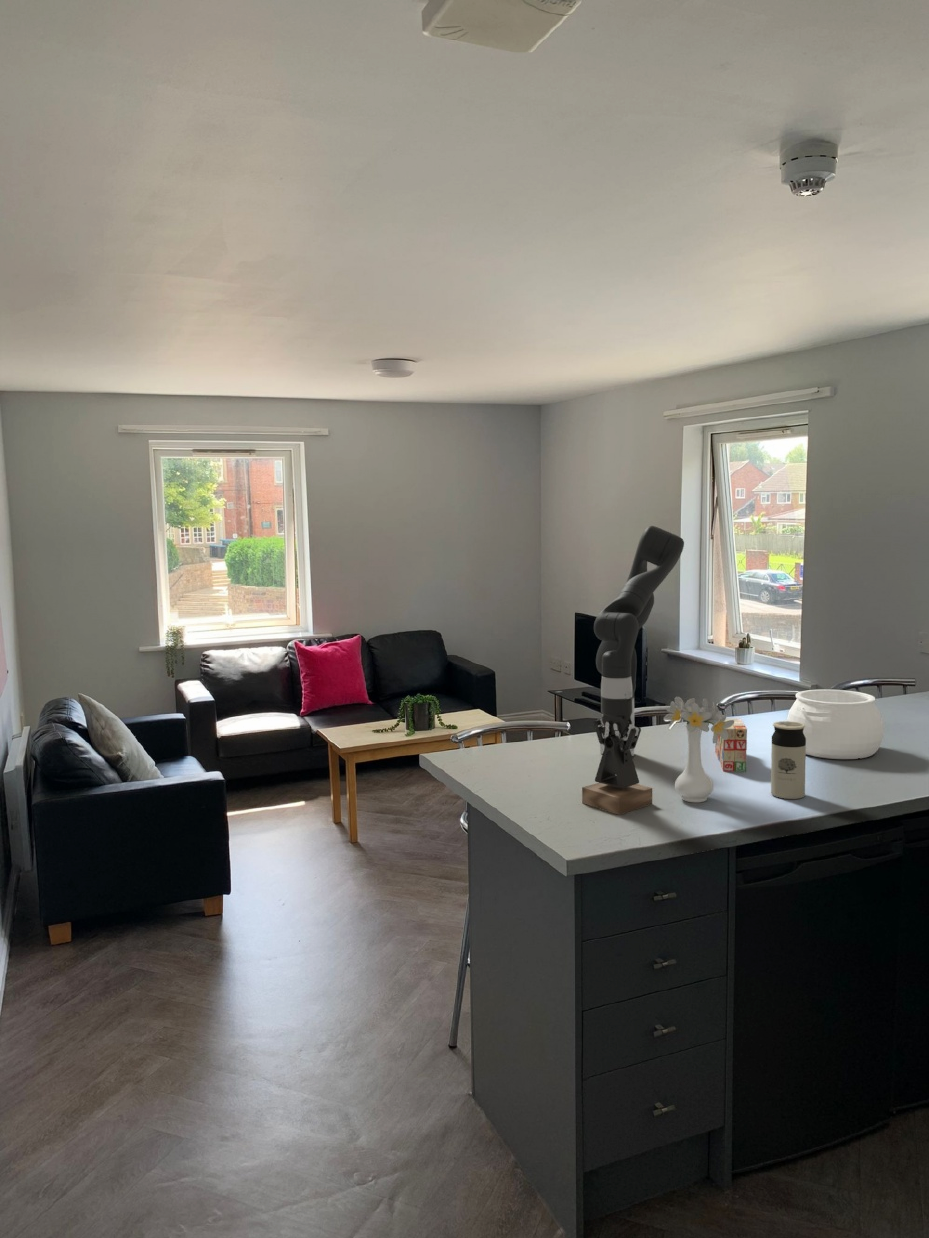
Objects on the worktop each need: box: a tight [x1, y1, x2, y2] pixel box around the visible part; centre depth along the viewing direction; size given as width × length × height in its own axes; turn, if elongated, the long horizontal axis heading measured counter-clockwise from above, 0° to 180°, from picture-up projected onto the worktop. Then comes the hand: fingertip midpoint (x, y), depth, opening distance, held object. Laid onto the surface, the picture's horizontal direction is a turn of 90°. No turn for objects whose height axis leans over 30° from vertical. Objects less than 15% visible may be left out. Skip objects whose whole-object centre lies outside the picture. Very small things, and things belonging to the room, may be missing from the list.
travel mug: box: [770, 720, 807, 800], centre depth 225 cm, size 8×8×18 cm
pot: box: [786, 689, 885, 760], centre depth 267 cm, size 29×26×16 cm
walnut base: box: [581, 782, 653, 816], centre depth 222 cm, size 12×12×4 cm
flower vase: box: [663, 696, 734, 804], centre depth 223 cm, size 13×18×25 cm
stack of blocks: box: [714, 718, 748, 773], centre depth 258 cm, size 21×6×12 cm, turn 171°
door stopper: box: [594, 735, 640, 789], centre depth 222 cm, size 9×6×12 cm, turn 43°
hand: (617, 763), depth 222 cm, fingers closed on door stopper, 3 cm apart
